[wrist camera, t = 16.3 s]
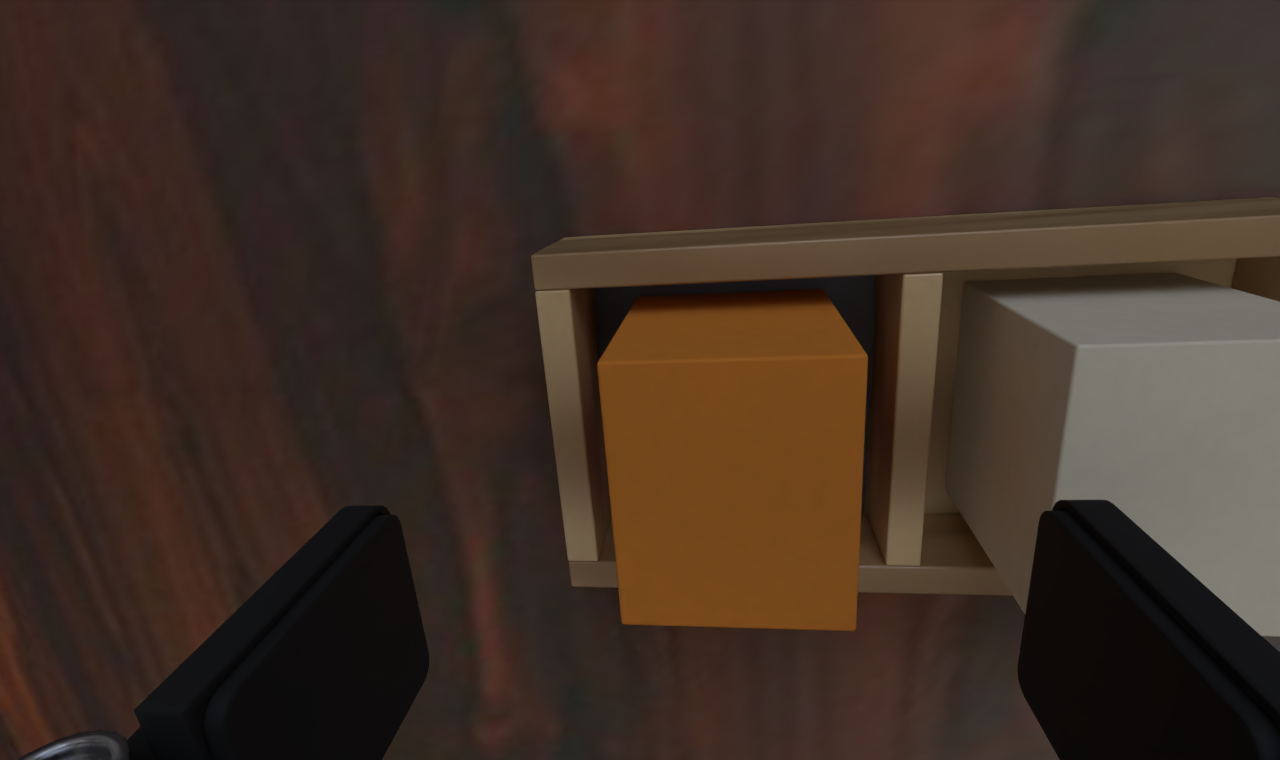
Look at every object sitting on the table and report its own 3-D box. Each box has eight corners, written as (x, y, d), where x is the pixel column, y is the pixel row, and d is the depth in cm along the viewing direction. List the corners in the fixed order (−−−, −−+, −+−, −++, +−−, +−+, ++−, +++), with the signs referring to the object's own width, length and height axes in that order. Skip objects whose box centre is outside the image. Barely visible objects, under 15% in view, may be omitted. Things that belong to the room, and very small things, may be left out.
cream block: (962, 280, 16) (1076, 345, 11) (1176, 271, 15) (1407, 335, 10) (944, 489, 18) (1034, 631, 12) (1133, 489, 17) (1311, 639, 12)
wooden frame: (563, 237, 17) (529, 254, 14) (1269, 196, 15) (1400, 208, 12) (593, 524, 20) (570, 588, 17) (1192, 527, 18) (1284, 603, 15)
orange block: (636, 295, 17) (595, 362, 12) (823, 287, 16) (869, 354, 11) (651, 492, 18) (621, 626, 13) (819, 492, 18) (856, 633, 13)
